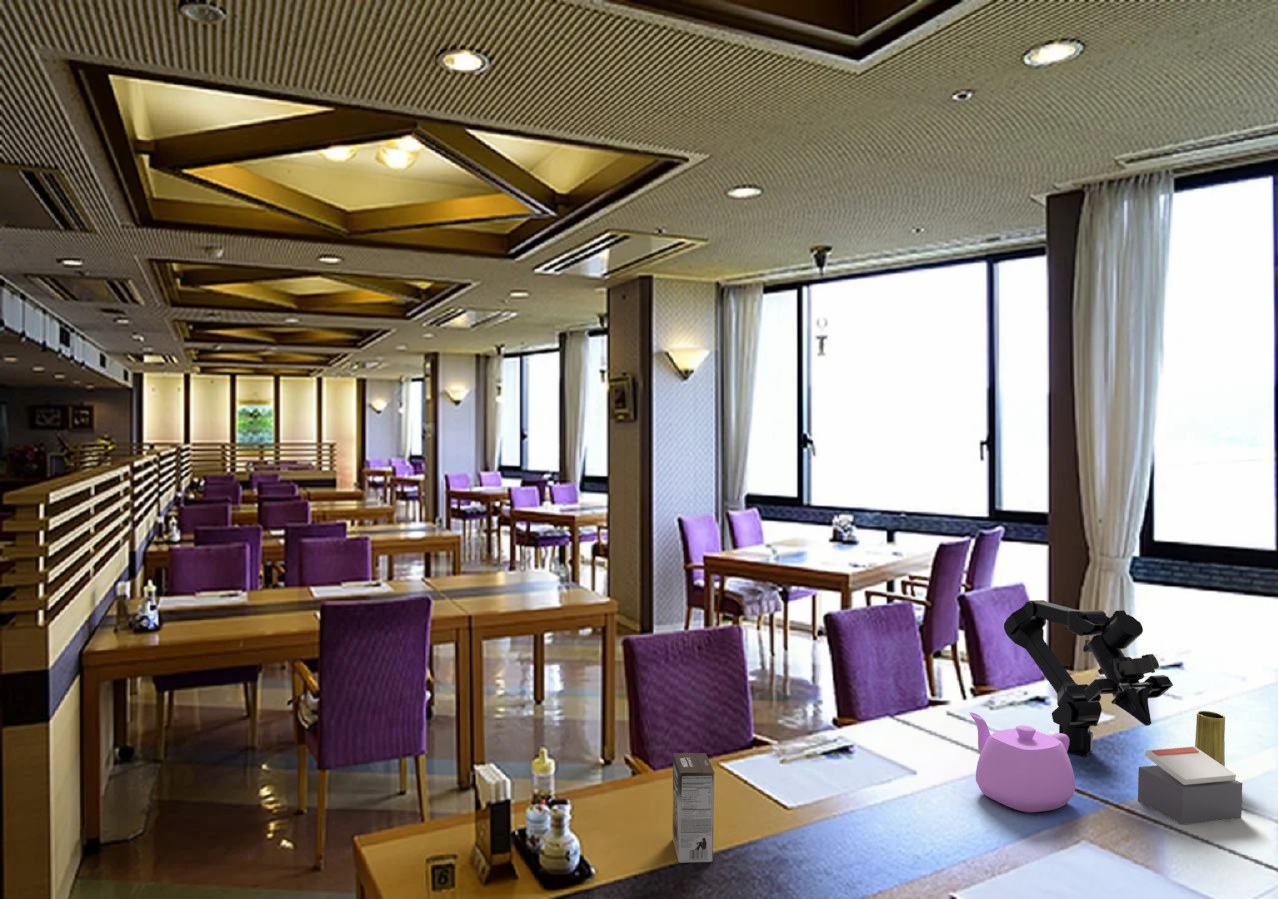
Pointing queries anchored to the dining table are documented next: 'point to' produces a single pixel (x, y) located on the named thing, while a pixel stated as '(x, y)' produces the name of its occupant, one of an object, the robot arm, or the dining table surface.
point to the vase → (1211, 735)
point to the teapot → (1024, 767)
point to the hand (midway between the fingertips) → (1148, 724)
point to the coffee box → (693, 807)
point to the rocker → (1190, 765)
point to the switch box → (1189, 797)
